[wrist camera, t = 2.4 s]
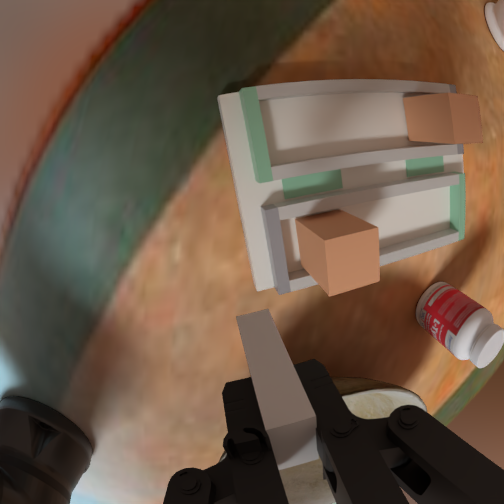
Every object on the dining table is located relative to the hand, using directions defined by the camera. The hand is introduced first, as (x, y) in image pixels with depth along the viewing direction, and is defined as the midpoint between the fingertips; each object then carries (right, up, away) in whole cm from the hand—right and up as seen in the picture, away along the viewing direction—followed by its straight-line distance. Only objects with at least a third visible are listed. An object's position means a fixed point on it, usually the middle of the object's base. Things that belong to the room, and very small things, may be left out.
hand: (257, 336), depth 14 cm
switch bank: (+10, +11, +12) cm, 19 cm away
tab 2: (+15, +16, +9) cm, 24 cm away
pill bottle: (+22, -2, +19) cm, 29 cm away
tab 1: (+5, +5, +11) cm, 14 cm away
